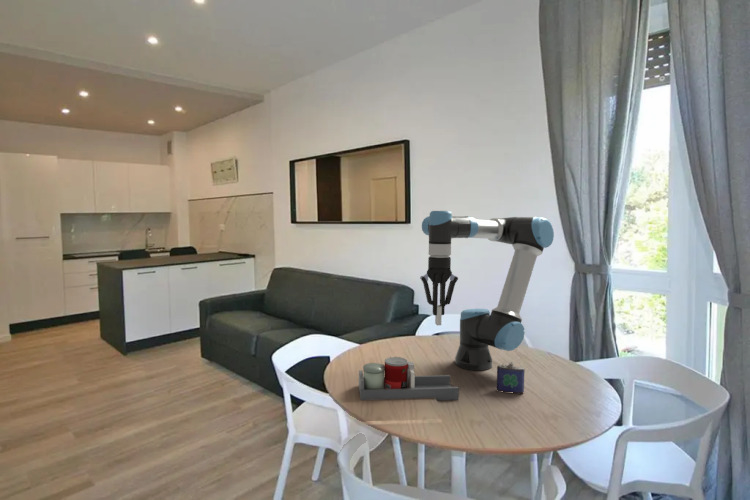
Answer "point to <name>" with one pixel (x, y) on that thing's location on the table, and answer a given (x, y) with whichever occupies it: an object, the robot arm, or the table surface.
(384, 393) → the lane
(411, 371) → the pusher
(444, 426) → the table surface
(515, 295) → the robot arm
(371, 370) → the green jar
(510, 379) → the flask
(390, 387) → the canned food
